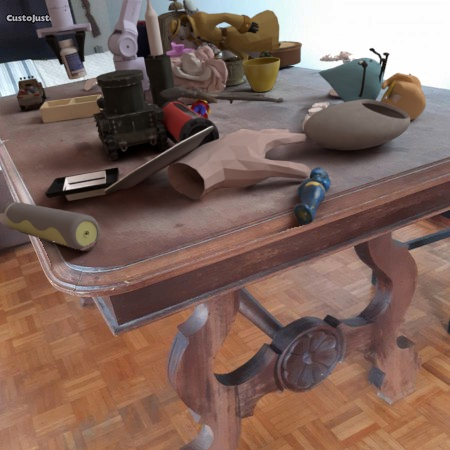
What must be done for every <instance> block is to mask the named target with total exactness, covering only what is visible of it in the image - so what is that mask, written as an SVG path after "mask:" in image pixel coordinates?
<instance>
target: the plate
mask: <svg viewBox="0 0 450 450" xmlns="http://www.w3.org/2000/svg"><path fill="white" fill-rule="evenodd" d="M213 129H214V127H213V126H211V127H209V128H207V129H205V130H203V131H201V132H199V133H197V134H195V135H193V136H191V137H189V138H187V139H186V140H184V141H182V142H180V143H178V144H177V145H176V144H174V146H172V147H170V148H167V149H166V150H165V151H163V152H162V153H160V154H158V155H157V156H155V157H154V158H152V159H149V161H147V162H145V163H143V164H142V165H140V166H138V167H136V168H135V169H133V170H132V171H130V172H129V173H127V174H125V176H123V177H122V178H119V181H117V182H116V183H114V184H113V185H111V186H110V187H108V188H107V189H106V190H104V192H105V193H107V194H111V193H113V192H116V191H120V190H125V189H131V188H133V187H134V186H137V185H139V184H140V183H142V182H143V181H145V180H147V179H149V178H150V177H152V176H154V175H156V174H157V173H159V172H161V171H162V170H164V169H165V168H168V167H169V164H171V163H172V162H174V161H176V160H177V159H179V158H181V157H183V156H184V155H186V154H188V153H190V152H191V151H193V150H194V149H195V148H196V147H197V146H198V145H199V144H200V143H201V141H202V140H203V139H204V137H205V136H207V135H208V134H209V133H210V132H211V131H212V130H213Z"/></svg>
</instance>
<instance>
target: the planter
mask: <svg viewBox="0 0 450 450" xmlns="http://www.w3.org/2000/svg"><path fill="white" fill-rule="evenodd" d="M380 101H381V100H380ZM380 101H379V100H369V99H362V100H354V101H348V102H344V101H343V102H341V103H336V104H332V105H330V106H329V105H328V107H326V108H324V109H322V110H320V111H318V112H316V113H315V114H314V115H312V116H311V117H310V118H309V119H308V120H307V121H306V123H305V125H304V130H303V134H306V139H307V140H308V141H310V142H311V143H312V144H314V145H316V146H319V147H322V148H325V149H330V150H337V151H357V150H364V149H370V148H373V147H377V146H379V145H383V144H385V143H388V142H391V141H393V140H395V139H397V138H398V137H400V136H401V135H402V134H404V133H405V132H406V131H407V130H408V128H409V127H410V124H411V120H410V117H409V115H408V114H407V113H406V112H405V111H403V110H401V109H399V108H397V107H395V106H392V105H390V104H387V103H384V102H380Z"/></svg>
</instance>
